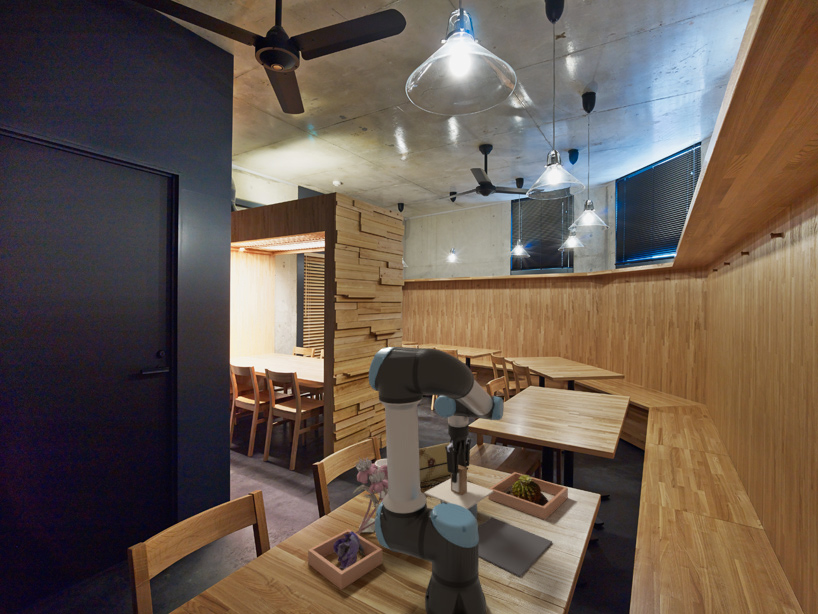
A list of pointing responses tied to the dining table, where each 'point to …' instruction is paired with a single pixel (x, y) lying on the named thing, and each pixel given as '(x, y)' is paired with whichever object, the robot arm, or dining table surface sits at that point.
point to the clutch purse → (433, 463)
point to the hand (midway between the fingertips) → (458, 488)
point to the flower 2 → (371, 489)
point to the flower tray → (351, 572)
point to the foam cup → (379, 464)
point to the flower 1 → (348, 549)
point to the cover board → (458, 498)
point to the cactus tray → (526, 505)
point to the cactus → (528, 491)
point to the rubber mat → (509, 546)
